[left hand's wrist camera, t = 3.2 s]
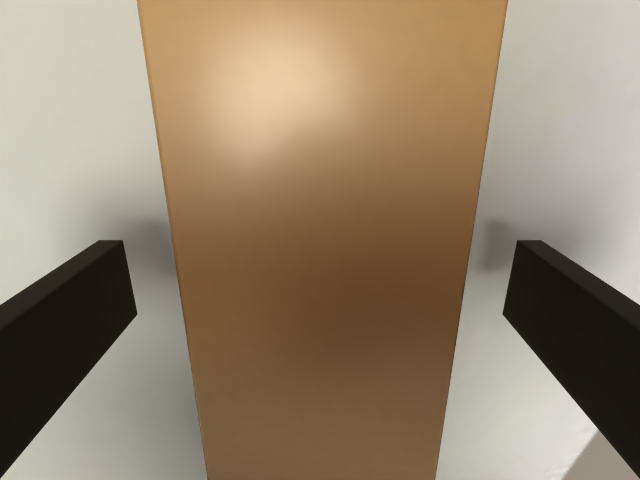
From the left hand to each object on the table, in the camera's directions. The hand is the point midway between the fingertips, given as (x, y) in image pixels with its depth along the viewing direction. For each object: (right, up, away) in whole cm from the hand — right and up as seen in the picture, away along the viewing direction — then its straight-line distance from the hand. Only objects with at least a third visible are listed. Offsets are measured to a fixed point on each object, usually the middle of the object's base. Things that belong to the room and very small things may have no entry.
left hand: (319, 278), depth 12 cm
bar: (0, +8, 0) cm, 8 cm away
